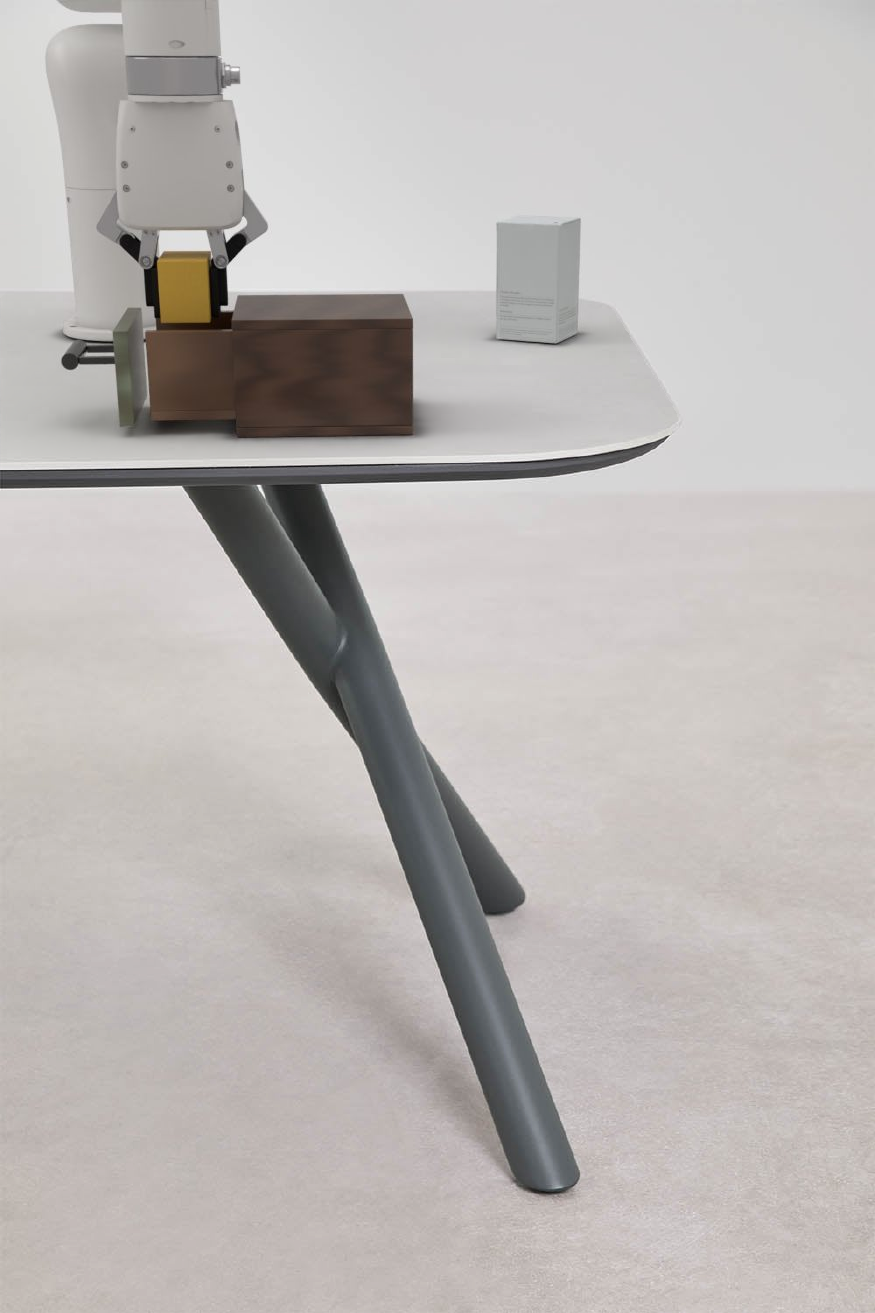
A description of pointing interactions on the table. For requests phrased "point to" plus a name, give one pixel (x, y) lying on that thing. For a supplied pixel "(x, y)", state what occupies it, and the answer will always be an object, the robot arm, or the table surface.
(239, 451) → the table surface
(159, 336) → the drawer
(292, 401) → the cabinet
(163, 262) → the yellow box
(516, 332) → the white packaging box
